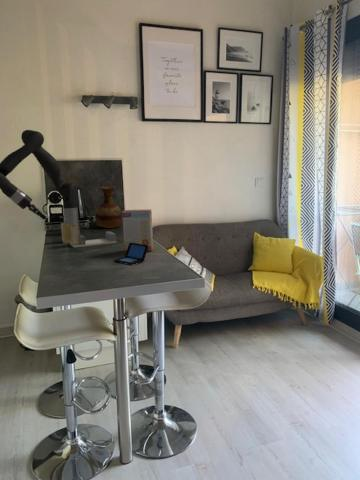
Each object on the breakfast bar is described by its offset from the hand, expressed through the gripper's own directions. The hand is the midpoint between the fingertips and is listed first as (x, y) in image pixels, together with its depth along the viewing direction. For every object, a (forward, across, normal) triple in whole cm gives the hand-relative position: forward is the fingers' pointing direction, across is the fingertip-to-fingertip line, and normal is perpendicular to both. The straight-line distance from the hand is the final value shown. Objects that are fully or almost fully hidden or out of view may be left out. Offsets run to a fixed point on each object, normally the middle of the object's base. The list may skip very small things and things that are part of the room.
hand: (44, 217), depth 218 cm
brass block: (+19, 0, +3) cm, 19 cm away
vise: (+27, -14, -6) cm, 31 cm away
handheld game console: (+31, -67, -9) cm, 74 cm away
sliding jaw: (+21, -14, -1) cm, 25 cm away
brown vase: (+45, +42, -24) cm, 66 cm away
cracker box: (+39, -47, -17) cm, 63 cm away
